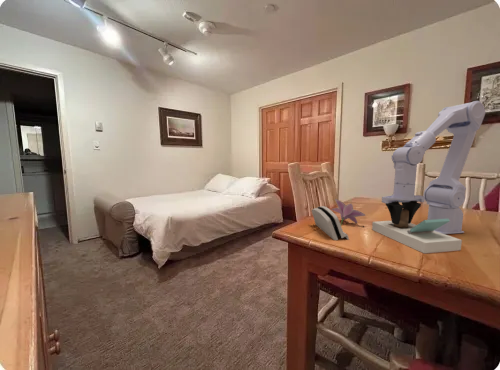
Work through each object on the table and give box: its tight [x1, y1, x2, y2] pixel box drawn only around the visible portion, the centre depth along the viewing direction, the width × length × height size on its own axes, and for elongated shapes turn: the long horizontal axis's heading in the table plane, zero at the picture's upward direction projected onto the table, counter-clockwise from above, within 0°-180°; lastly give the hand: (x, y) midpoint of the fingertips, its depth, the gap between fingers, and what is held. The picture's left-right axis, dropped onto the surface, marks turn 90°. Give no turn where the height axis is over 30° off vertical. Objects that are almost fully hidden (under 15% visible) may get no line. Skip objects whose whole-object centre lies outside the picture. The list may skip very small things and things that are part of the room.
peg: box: [394, 209, 409, 229], centre depth 73 cm, size 4×4×6 cm
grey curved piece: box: [311, 205, 350, 241], centre depth 76 cm, size 17×5×10 cm, turn 4°
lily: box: [331, 198, 366, 226], centre depth 85 cm, size 12×12×10 cm
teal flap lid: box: [407, 219, 450, 233], centre depth 64 cm, size 8×1×7 cm
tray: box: [371, 220, 463, 254], centre depth 69 cm, size 12×20×3 cm, turn 9°
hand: (401, 223), depth 73 cm, fingers closed on peg, 4 cm apart
